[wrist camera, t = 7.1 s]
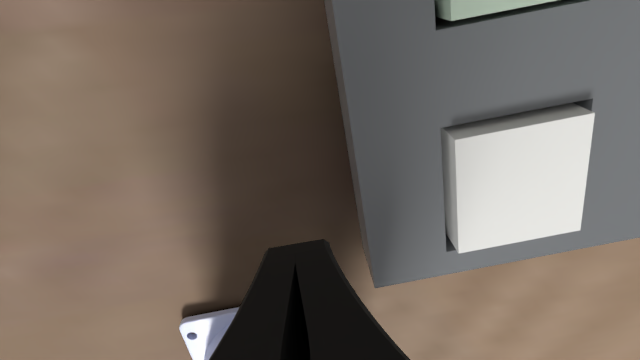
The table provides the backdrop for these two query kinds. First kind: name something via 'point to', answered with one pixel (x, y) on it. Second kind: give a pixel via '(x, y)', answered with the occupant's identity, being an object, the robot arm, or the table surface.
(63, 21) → the table surface
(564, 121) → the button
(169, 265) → the table surface
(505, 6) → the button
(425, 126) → the button housing
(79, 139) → the table surface
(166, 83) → the table surface
